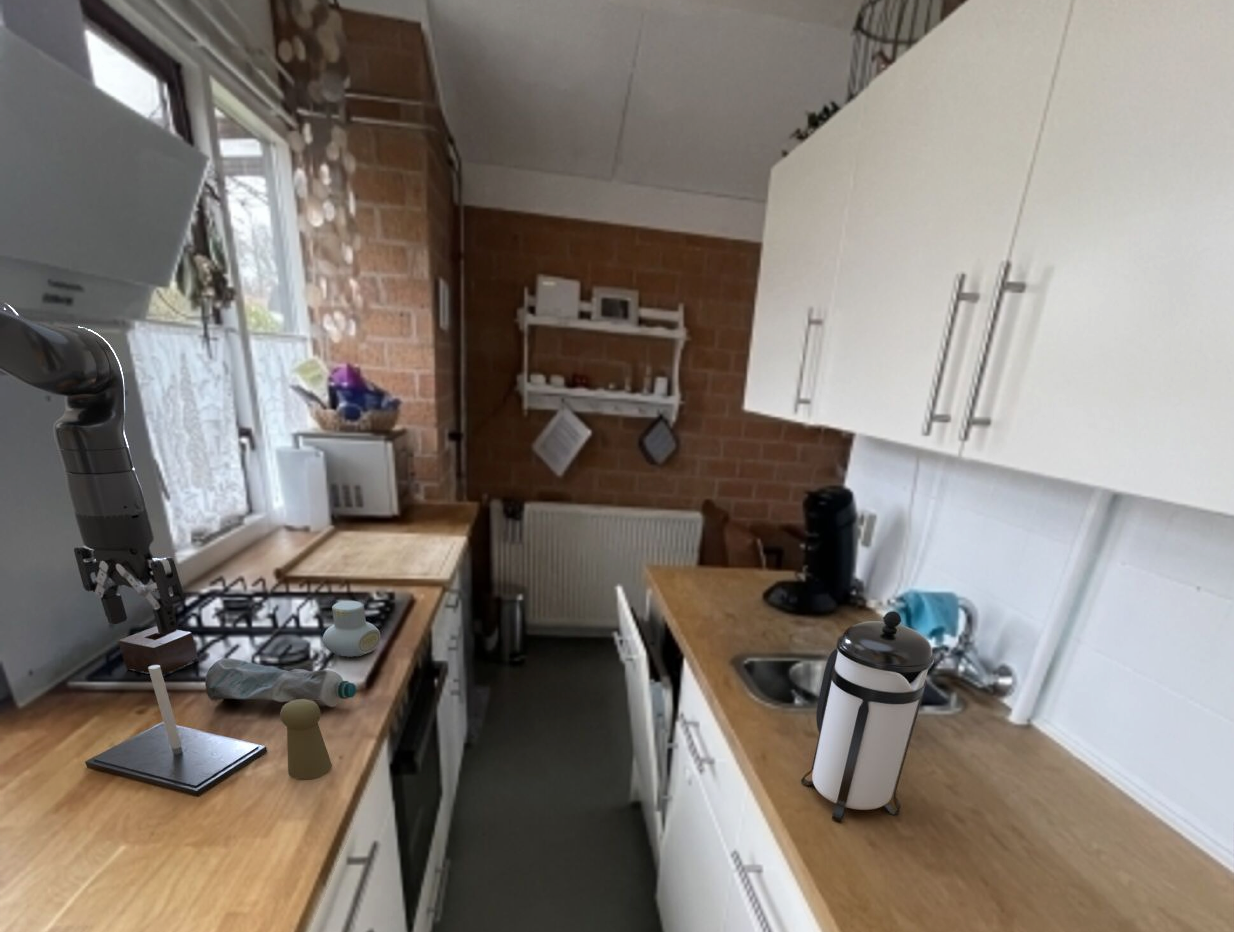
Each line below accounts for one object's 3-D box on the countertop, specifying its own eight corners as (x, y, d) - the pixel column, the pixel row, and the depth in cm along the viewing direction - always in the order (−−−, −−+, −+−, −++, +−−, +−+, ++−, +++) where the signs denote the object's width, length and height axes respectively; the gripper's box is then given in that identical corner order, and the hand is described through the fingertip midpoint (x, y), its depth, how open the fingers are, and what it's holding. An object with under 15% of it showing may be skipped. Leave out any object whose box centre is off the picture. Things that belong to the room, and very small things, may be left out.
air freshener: (354, 639, 149) (348, 594, 144) (387, 646, 147) (382, 600, 142) (318, 657, 140) (310, 610, 135) (353, 665, 137) (346, 617, 133)
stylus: (170, 753, 104) (145, 667, 97) (178, 749, 105) (154, 664, 99) (177, 755, 104) (153, 669, 97) (185, 750, 105) (162, 665, 98)
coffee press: (913, 790, 110) (966, 609, 96) (882, 841, 98) (938, 641, 84) (808, 753, 118) (844, 581, 104) (769, 795, 106) (802, 607, 92)
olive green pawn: (340, 766, 106) (330, 701, 101) (305, 784, 101) (293, 717, 96) (314, 753, 108) (303, 690, 103) (279, 770, 104) (265, 705, 99)
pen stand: (126, 670, 130) (117, 640, 127) (165, 654, 137) (157, 625, 134) (162, 678, 128) (153, 647, 125) (199, 661, 135) (192, 632, 132)
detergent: (194, 709, 118) (333, 726, 115) (186, 669, 115) (328, 685, 112) (245, 683, 130) (372, 697, 127) (239, 646, 127) (368, 659, 124)
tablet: (86, 767, 102) (83, 760, 101) (164, 726, 113) (162, 720, 112) (198, 796, 97) (196, 789, 96) (267, 751, 108) (266, 745, 108)
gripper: (36, 505, 86) (76, 628, 94) (127, 519, 83) (161, 646, 90) (94, 494, 93) (127, 610, 100) (181, 508, 89) (208, 627, 97)
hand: (143, 627), depth 95 cm, fingers open, 8 cm apart
